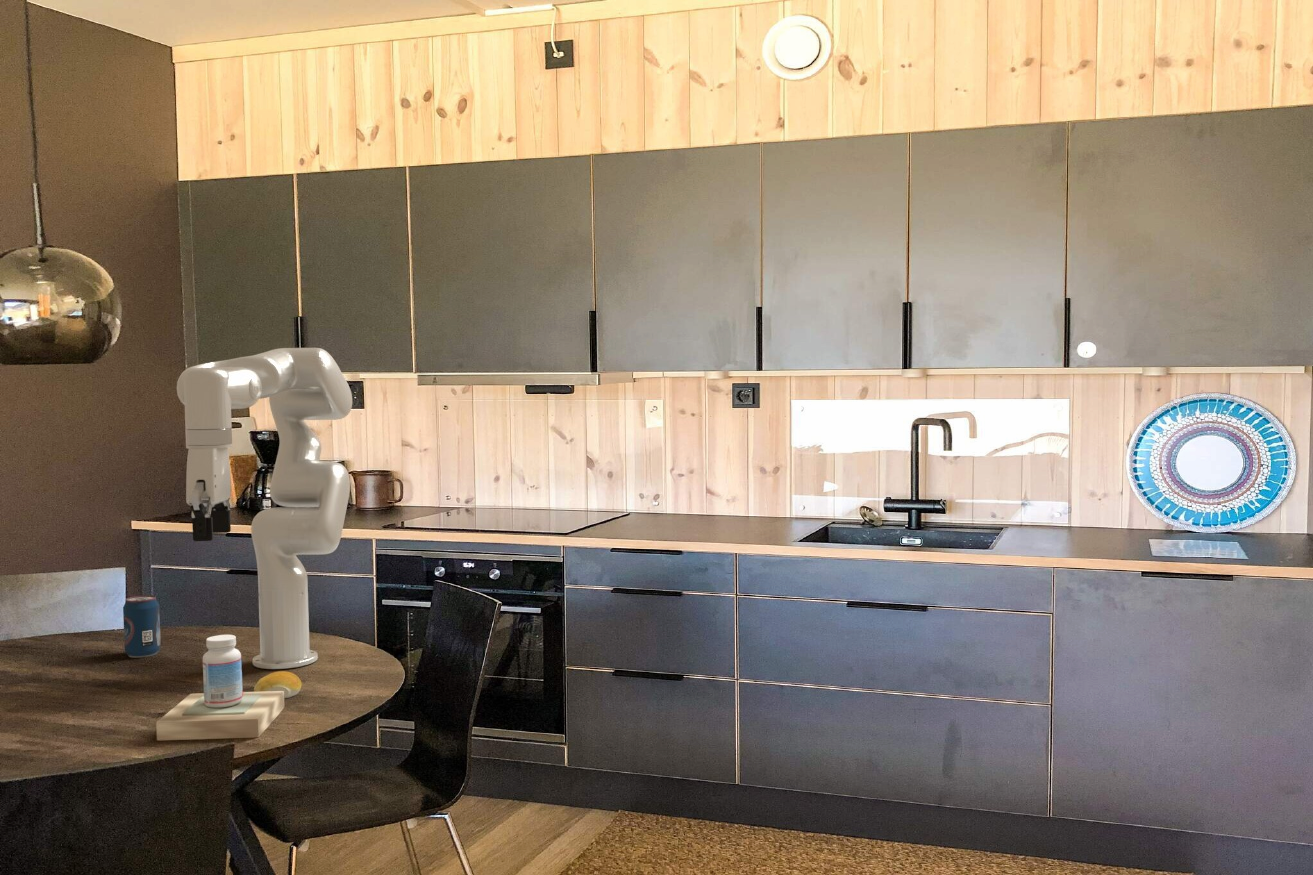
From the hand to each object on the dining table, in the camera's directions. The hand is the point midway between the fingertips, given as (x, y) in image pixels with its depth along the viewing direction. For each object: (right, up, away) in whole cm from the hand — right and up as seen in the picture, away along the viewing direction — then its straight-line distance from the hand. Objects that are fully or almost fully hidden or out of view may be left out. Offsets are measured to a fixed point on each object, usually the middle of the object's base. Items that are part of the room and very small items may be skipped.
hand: (212, 536), depth 197 cm
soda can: (-30, -29, +40) cm, 58 cm away
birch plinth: (+5, -31, -8) cm, 32 cm away
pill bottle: (+5, -28, -8) cm, 29 cm away
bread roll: (+8, -30, +10) cm, 33 cm away
